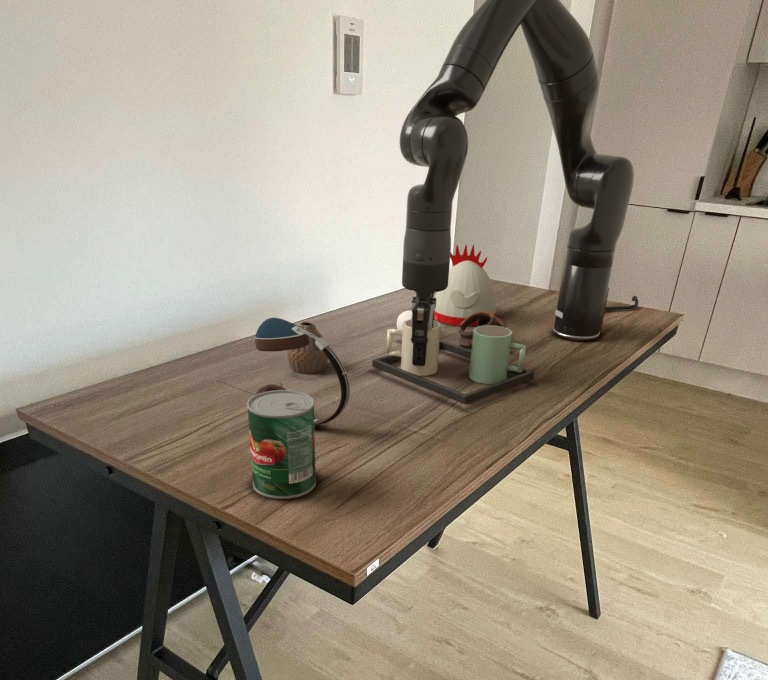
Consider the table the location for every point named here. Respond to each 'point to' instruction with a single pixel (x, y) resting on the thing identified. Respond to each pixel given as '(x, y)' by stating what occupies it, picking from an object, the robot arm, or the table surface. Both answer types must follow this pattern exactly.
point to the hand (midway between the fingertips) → (420, 357)
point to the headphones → (290, 336)
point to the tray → (385, 366)
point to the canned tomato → (282, 443)
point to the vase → (308, 354)
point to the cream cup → (407, 348)
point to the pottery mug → (482, 320)
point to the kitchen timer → (465, 290)
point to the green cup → (493, 354)
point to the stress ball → (403, 318)
